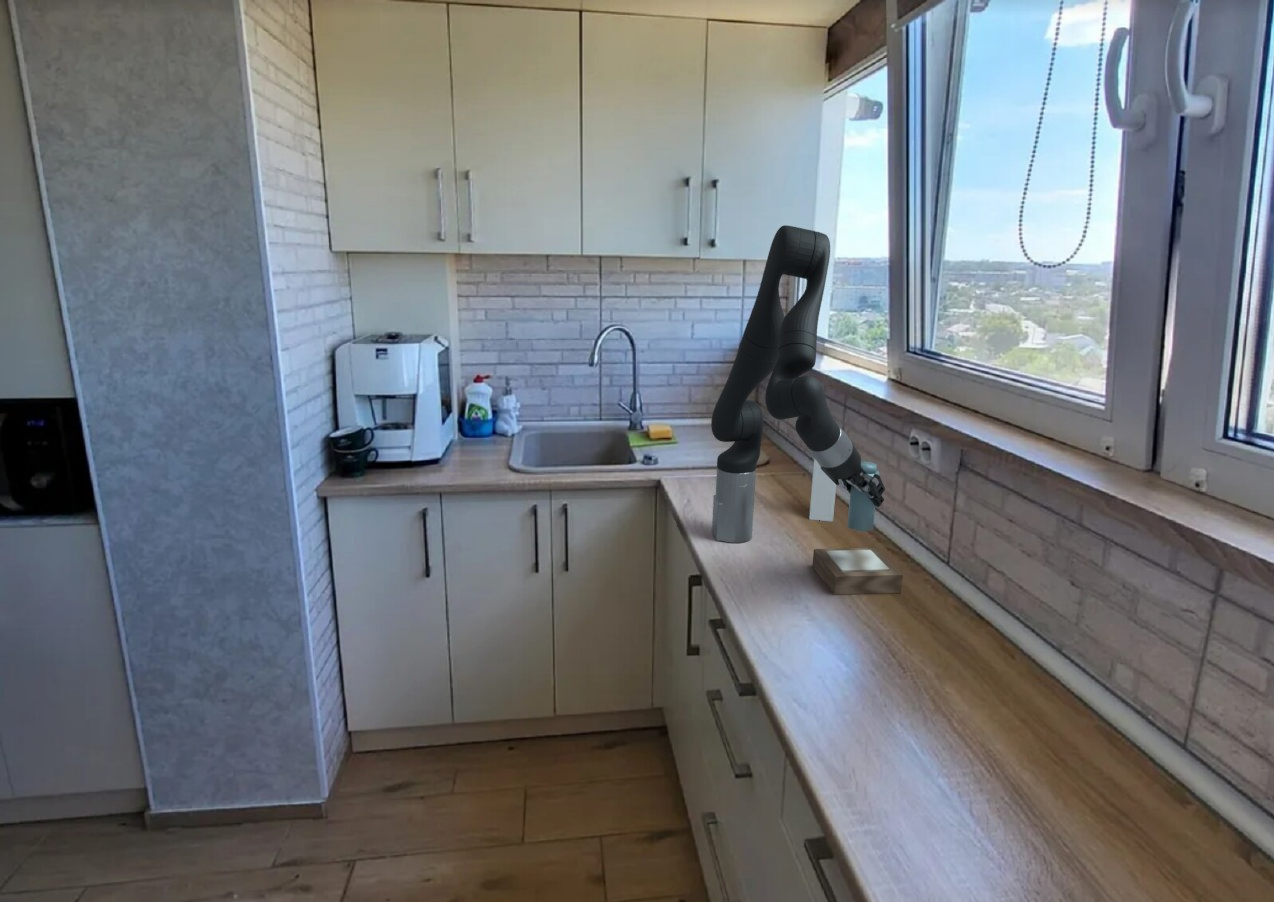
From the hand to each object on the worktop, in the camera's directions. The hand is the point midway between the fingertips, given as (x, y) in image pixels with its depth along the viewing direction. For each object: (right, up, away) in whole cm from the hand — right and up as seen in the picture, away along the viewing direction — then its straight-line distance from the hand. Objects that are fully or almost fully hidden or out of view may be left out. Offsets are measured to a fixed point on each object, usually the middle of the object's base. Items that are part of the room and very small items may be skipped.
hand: (868, 499), depth 153 cm
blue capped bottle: (-2, -6, +1) cm, 6 cm away
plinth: (-2, -17, +4) cm, 18 cm away
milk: (0, -7, +40) cm, 40 cm away
